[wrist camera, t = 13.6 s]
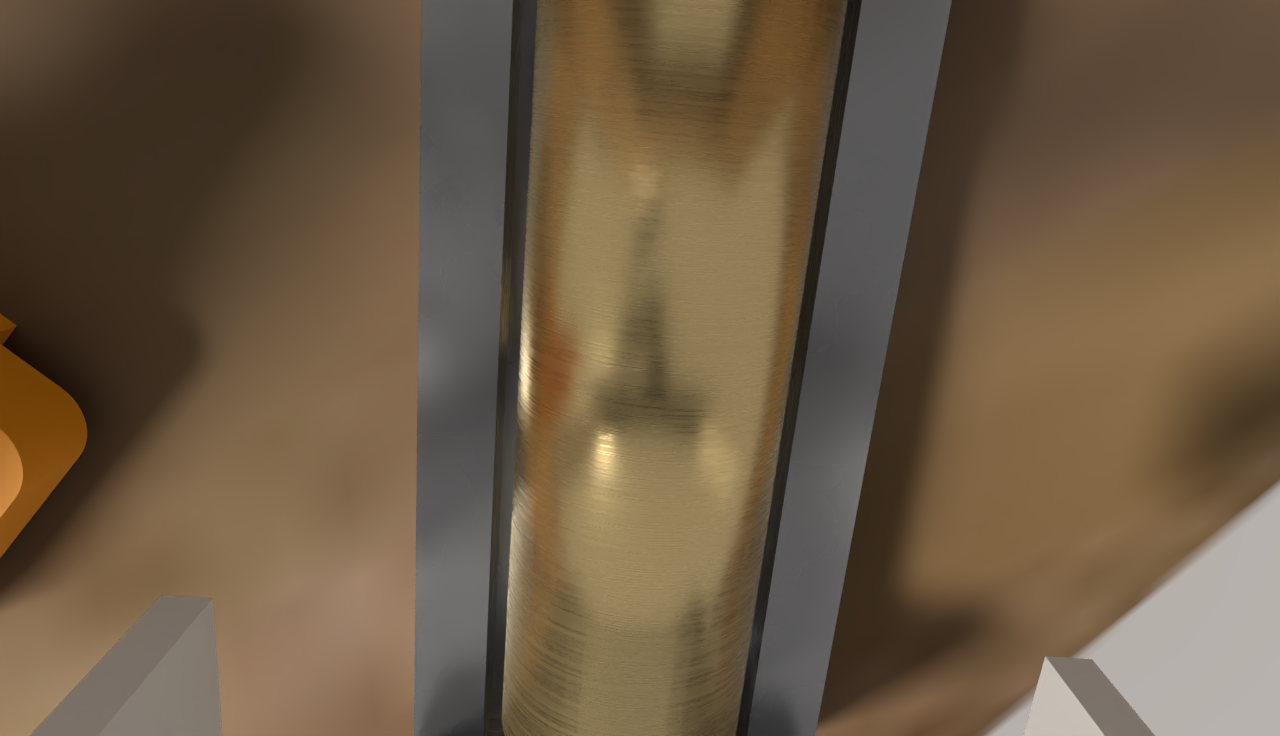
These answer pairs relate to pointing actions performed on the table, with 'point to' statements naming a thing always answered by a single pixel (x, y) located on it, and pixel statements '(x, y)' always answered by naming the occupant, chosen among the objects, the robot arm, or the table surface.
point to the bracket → (32, 439)
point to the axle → (657, 350)
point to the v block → (491, 332)
